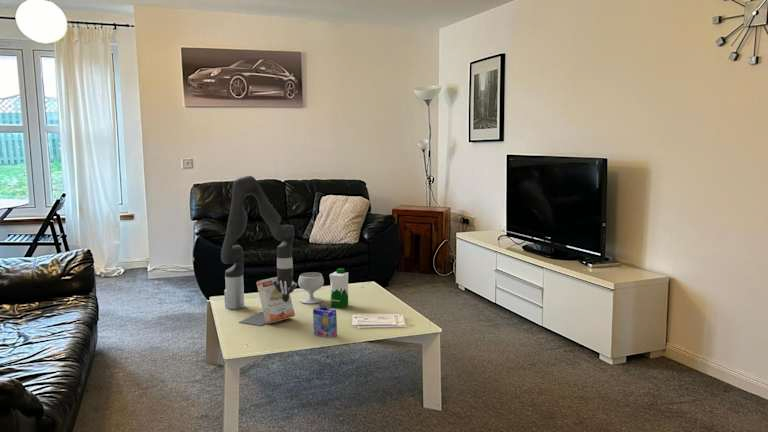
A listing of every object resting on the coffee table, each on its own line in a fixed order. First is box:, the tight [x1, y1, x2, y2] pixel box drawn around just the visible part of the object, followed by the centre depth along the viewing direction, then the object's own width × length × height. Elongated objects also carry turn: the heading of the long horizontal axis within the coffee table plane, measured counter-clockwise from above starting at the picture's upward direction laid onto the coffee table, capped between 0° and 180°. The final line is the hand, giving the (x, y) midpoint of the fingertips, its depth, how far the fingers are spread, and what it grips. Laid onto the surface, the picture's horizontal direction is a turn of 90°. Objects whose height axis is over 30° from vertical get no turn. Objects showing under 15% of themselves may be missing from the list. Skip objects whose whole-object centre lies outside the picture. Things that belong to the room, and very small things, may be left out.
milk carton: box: [328, 267, 349, 310], centre depth 304 cm, size 9×9×20 cm
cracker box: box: [256, 276, 296, 324], centre depth 282 cm, size 14×6×21 cm, turn 134°
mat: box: [238, 311, 268, 327], centre depth 285 cm, size 13×18×1 cm
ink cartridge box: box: [312, 304, 338, 339], centre depth 260 cm, size 10×6×14 cm, turn 58°
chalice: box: [297, 271, 325, 305], centre depth 314 cm, size 14×14×15 cm
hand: (285, 301), depth 278 cm, fingers closed
